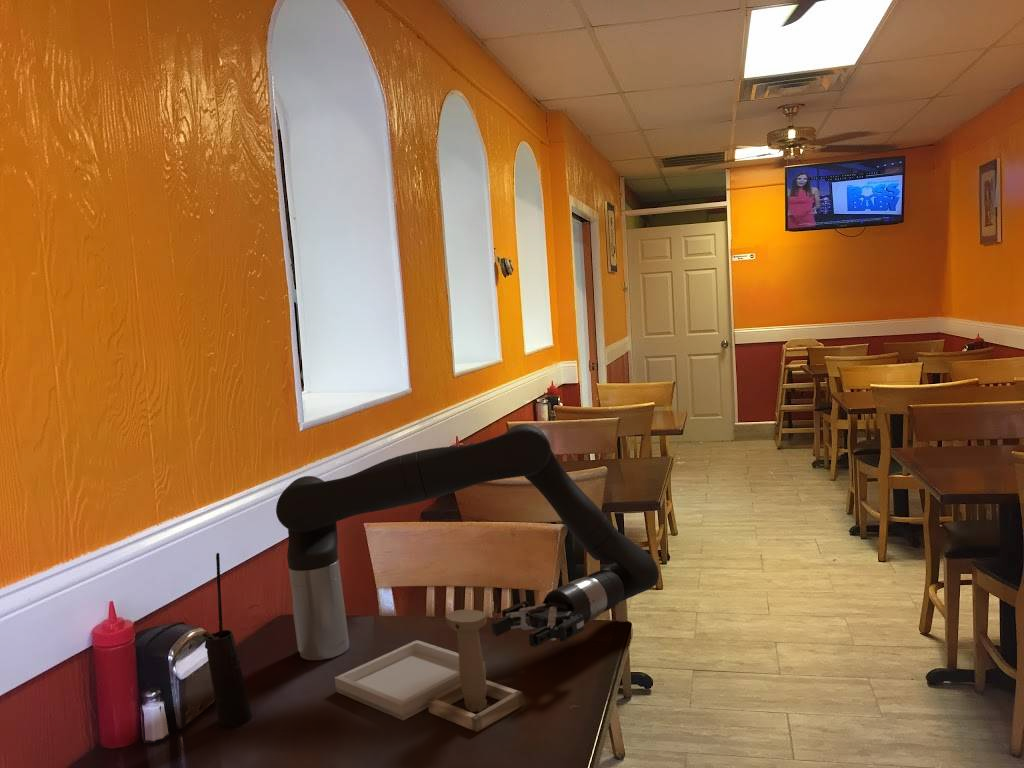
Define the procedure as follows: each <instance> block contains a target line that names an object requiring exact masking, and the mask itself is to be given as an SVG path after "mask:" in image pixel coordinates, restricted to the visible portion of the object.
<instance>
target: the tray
mask: <svg viewBox="0 0 1024 768" xmlns="http://www.w3.org/2000/svg"><path fill="white" fill-rule="evenodd" d="M483 662H484V668H485V676H486V677H487V669H486V662H485V661H484V660H483ZM334 683H335V684H334V685H335V691H336V693H338V694H340V695H343V696H346V697H348V698H350V699H353V700H354V701H357V702H359V703H361V704H364V705H367V706H368V707H371V708H373V709H376V710H378V711H380V712H382V713H385V714H387V715H389V716H391V717H394V718H396V719H399V720H401V721H405V720H407V719H408V718H410V717H413V716H415V715H416V714H418V713H420V712H422V711H424V710H426V709H427V708H429V707H428V700H429V699H431V698H433V697H435V696H437V695H439V694H440V693H442V692H444V691H446V690H448V689H450V688H452V687H454V686H456V685H458V684H459V683H461V681H460V671H459V652H455V651H452V650H450V649H446V648H443V647H440V646H437V645H434V644H430V643H428V642H426V641H425V642H424V641H421V640H418V639H417V640H413V641H411V642H409V643H407V644H405V645H403V646H401V647H398V648H397V649H394V650H393V651H390V652H388V653H385V654H383V655H381V656H378V657H377V658H375V659H373V660H370V661H368V662H365V663H363V664H361V665H359V666H356V667H355V668H353V669H350V670H349V671H346V672H344V673H342V674H339V675H338V676H335V677H334Z"/></svg>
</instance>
